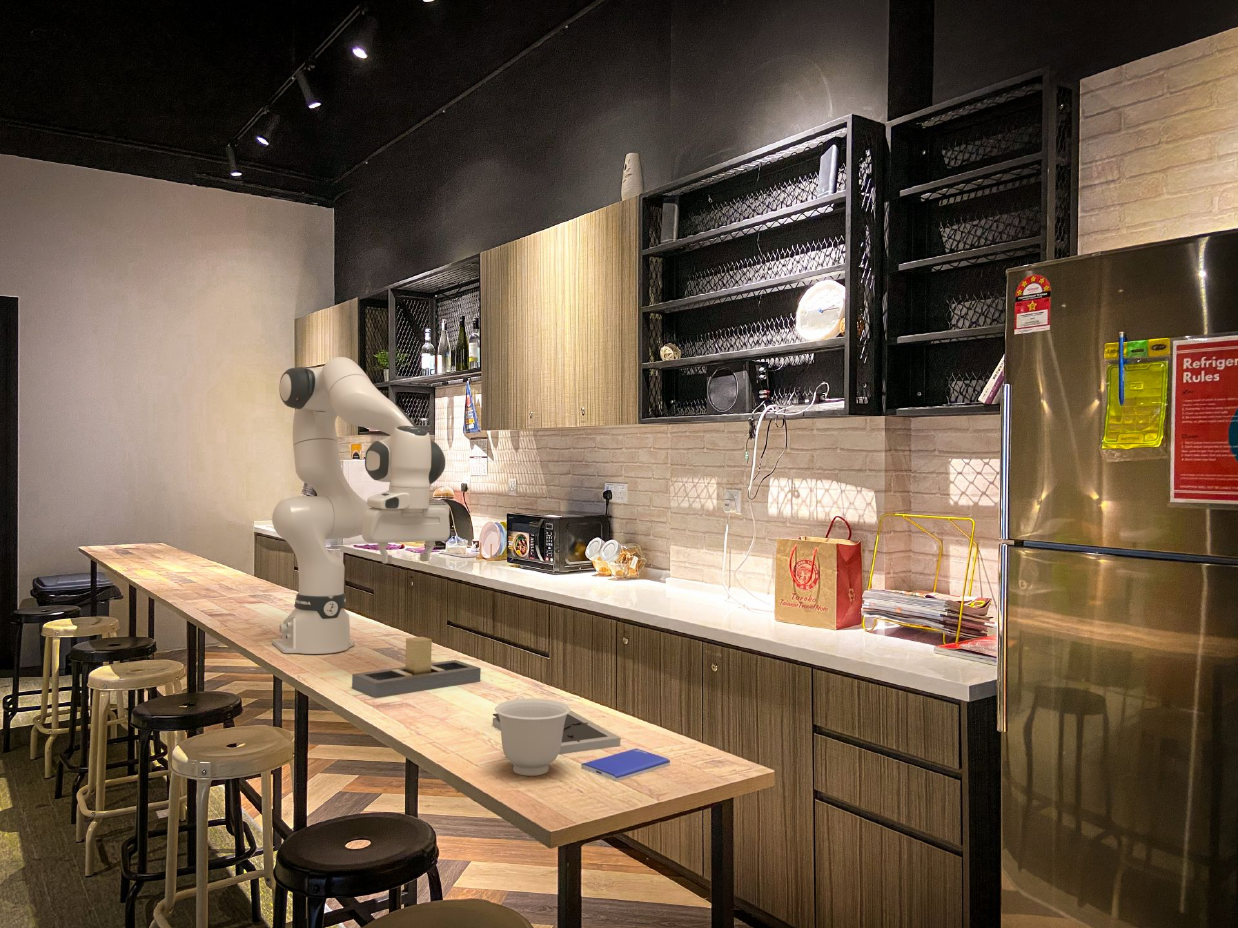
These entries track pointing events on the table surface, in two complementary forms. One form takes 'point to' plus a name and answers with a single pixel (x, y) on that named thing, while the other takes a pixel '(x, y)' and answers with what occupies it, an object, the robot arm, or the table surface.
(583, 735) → the picture frame
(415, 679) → the grey compartment tray
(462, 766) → the table surface
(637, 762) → the hard drive
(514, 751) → the teacup
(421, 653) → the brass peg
